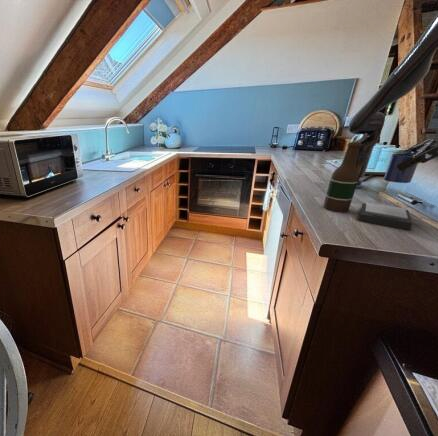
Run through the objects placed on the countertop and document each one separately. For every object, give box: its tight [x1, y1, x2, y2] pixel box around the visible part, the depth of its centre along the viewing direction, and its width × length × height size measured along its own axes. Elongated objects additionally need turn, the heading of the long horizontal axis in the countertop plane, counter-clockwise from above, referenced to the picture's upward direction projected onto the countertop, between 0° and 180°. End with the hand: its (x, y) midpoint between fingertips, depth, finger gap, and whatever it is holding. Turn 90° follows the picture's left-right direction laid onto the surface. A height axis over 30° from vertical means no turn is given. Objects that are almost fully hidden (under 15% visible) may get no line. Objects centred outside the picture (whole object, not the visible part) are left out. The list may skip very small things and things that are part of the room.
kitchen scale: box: [358, 202, 413, 231], centre depth 81 cm, size 14×12×3 cm
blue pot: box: [383, 153, 419, 184], centre depth 76 cm, size 6×6×8 cm
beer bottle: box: [323, 141, 361, 213], centre depth 87 cm, size 8×8×24 cm
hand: (394, 166), depth 77 cm, fingers closed on blue pot, 6 cm apart
